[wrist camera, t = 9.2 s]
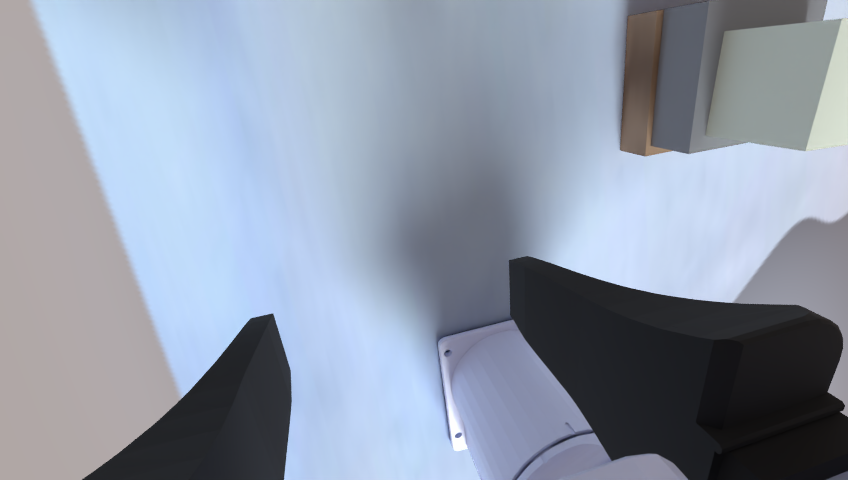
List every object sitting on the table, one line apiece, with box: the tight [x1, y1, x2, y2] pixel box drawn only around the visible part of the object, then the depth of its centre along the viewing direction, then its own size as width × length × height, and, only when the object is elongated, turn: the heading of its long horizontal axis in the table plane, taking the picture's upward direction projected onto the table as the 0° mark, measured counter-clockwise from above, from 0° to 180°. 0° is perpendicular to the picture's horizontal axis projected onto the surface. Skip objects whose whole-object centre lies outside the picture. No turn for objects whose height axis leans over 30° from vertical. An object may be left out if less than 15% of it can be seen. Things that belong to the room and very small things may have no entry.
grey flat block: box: [651, 0, 827, 154], centre depth 20 cm, size 6×6×2 cm
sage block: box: [705, 18, 848, 151], centre depth 17 cm, size 4×4×4 cm
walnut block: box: [620, 10, 672, 156], centre depth 23 cm, size 7×7×2 cm
